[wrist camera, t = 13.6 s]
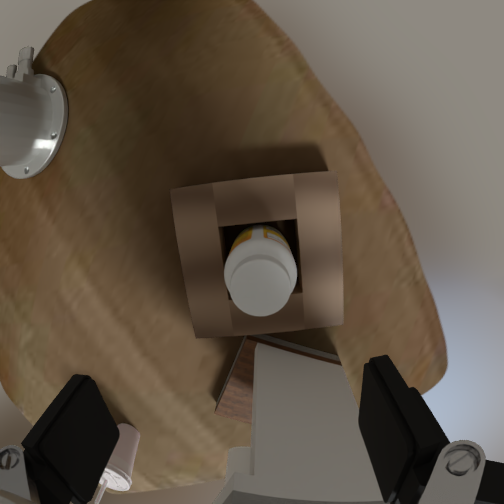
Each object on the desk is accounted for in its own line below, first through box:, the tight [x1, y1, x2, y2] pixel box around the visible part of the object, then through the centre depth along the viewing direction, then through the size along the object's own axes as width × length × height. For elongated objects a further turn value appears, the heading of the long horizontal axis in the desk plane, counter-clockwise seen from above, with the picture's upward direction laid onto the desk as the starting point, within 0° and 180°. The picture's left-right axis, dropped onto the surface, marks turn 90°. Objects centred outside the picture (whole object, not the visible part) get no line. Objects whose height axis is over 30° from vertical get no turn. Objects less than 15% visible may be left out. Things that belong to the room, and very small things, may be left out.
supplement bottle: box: [224, 225, 297, 316], centre depth 24 cm, size 5×5×10 cm
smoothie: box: [95, 423, 140, 504], centre depth 29 cm, size 6×6×14 cm
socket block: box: [170, 171, 343, 338], centre depth 27 cm, size 14×14×3 cm
